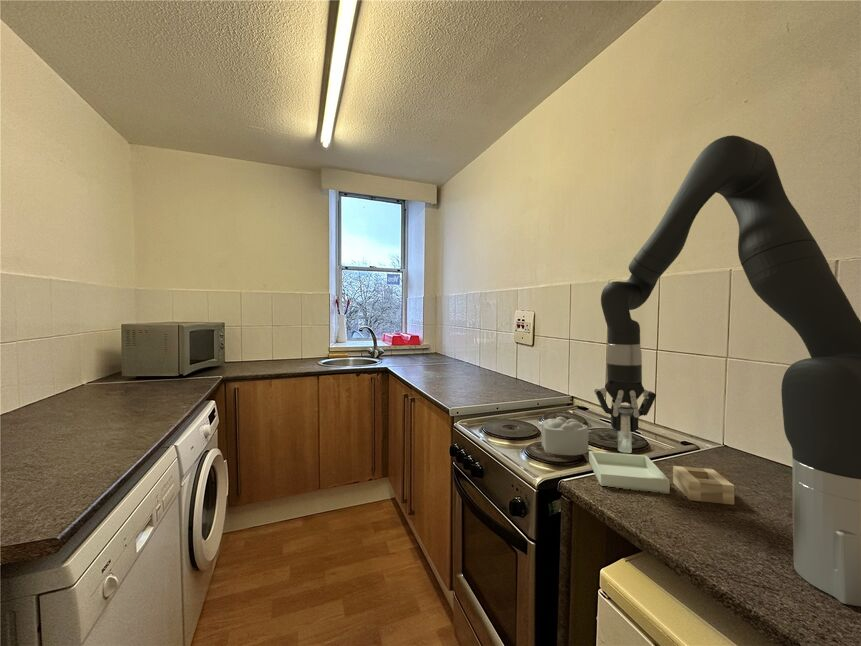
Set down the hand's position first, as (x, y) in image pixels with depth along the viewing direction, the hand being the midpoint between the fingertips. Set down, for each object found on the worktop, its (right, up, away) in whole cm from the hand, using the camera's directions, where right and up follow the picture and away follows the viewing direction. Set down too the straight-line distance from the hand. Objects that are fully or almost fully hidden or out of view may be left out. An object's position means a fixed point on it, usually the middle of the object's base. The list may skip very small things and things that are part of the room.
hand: (624, 430), depth 83 cm
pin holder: (+12, -11, -9) cm, 19 cm away
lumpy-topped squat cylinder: (-7, -12, +19) cm, 23 cm away
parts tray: (0, -11, 0) cm, 11 cm away
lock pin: (0, -5, 0) cm, 5 cm away
